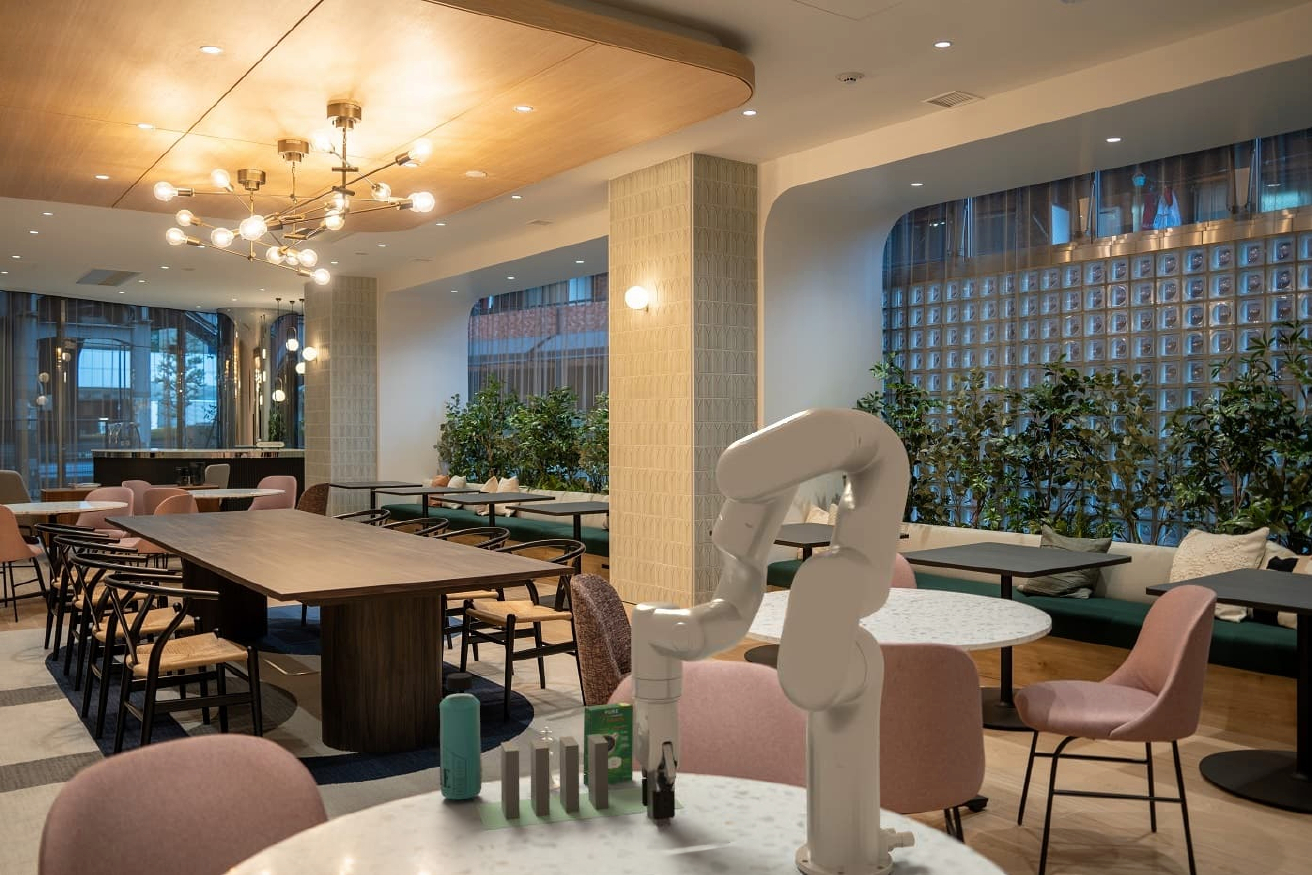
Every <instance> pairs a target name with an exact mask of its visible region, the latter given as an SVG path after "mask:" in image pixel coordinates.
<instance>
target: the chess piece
mask: <svg viewBox="0 0 1312 875" xmlns="http://www.w3.org/2000/svg"><path fill="white" fill-rule="evenodd" d="M540 732H541V734H540V735H544V737H543V738H542V739H544V741H545V742H546V744H547V745H548V747H549V790H550V791H555V790H558V789H559V790H560V780H559V781H558V780H555V778H554V777H553V773H552V766H551V759H550V758H551V757H554V753H553V751H551V748H552V745H553V743H554V740H553V738H550V737H549V736H551V735H553V731H552V730H550V731H549V727H547V726H545V727H544V730H541V731H540Z"/></svg>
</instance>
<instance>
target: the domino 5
mask: <svg viewBox="0 0 1312 875" xmlns="http://www.w3.org/2000/svg"><path fill="white" fill-rule="evenodd" d="M663 768H664V764H663V765H659V766H658V769H663ZM664 774H665V773H659V779H661V777H662V776H664ZM652 791H655V786H654V774H653V771H652V772H648V771H647V812H646V815H647V816H648V817H649V819H650V821H652V822H653V824H654V825H655V826H656V827H661V826H669V825H670V824H671V820H670V819H671V818H666V819H657V820H655V819H654V818H653V802H652Z"/></svg>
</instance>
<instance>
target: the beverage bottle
mask: <svg viewBox="0 0 1312 875" xmlns="http://www.w3.org/2000/svg"><path fill="white" fill-rule="evenodd" d="M445 683H446V684H445V690H448V691H450V692H453V691H454V692H459V691H460V692H461V691H468V690H472V689H473V687H474V686H473V685H474V683H473V676H472V674H471V673H464V672H460V673H459V672H458V673H456V672H455V673H451V674H448V675H447V676H446V682H445ZM480 706H481V702H480V701H479V698H477V697H476V696H475V695H474V694H471V693H453V694H449V695H447V696H445V698H443V700H442V701H440V703H439V718H440V719H439V720H440V723H439V724H440V727H439V736H438V737H439V742H440V743H439V744H440V748H439V749H440V752H439V754H440V756H439V757H440V763H439V765H440V766H439V781H440V782H439V787H440V790H439V791H440V792H441V795H442V796H443V797H444V798H446V799H450V800H451V799H452V800H464V799H470V798H473V797H476V796H478V795H479V794H480V793H481V790H482V786H483V784H482V780H483V769H482V768H483V767H482V766H483V765H482V762H483V761H482V754H483V753H482V746H481V745H482V743H481V722H480V721H481V717H480V716H481V715H480V712H481V711H480V708H481V707H480Z"/></svg>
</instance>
